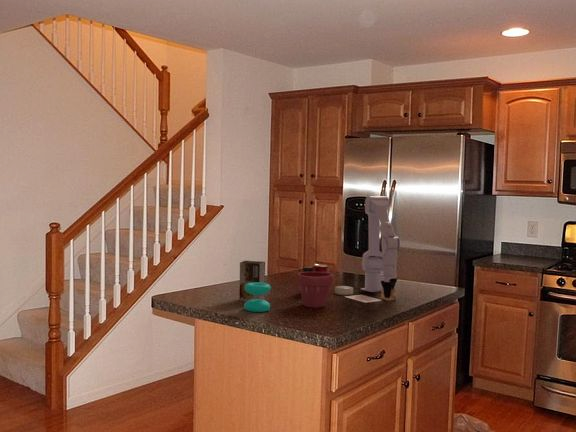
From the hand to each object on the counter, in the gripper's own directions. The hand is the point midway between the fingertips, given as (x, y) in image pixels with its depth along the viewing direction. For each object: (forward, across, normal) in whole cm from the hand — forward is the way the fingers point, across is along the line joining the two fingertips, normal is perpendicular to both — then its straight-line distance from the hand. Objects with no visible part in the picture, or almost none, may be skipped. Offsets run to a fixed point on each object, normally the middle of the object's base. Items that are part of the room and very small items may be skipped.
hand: (388, 296), depth 248 cm
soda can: (+2, -4, -32) cm, 32 cm away
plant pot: (+2, +26, -26) cm, 36 cm away
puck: (+2, -4, -20) cm, 21 cm away
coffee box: (+2, +28, -52) cm, 59 cm away
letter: (+1, +4, -10) cm, 11 cm away
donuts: (+2, +44, -43) cm, 62 cm away
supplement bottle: (+2, +5, -35) cm, 35 cm away
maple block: (+2, 0, 0) cm, 2 cm away
